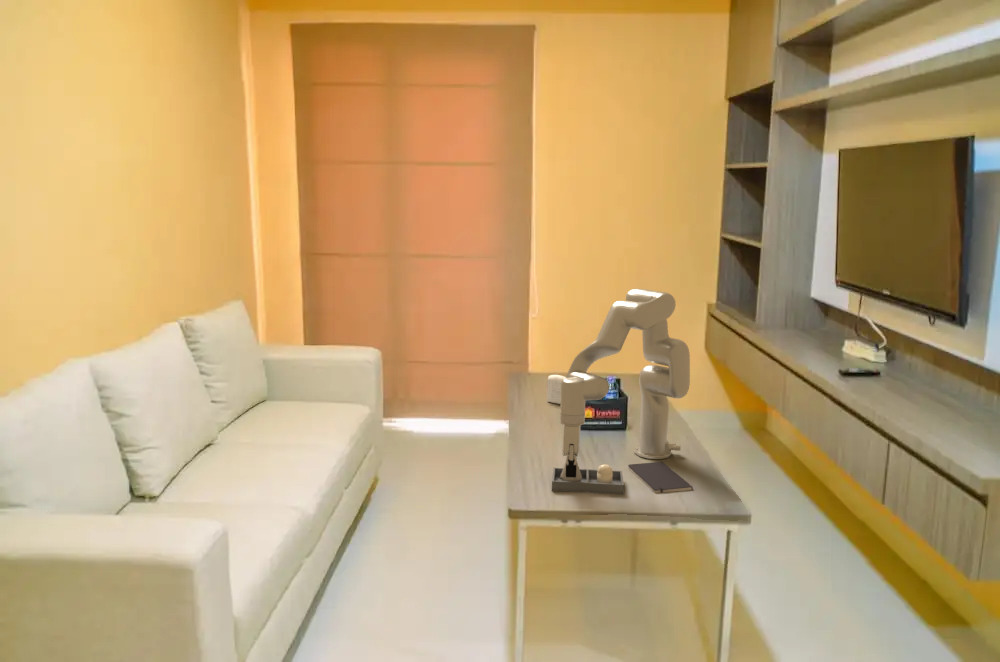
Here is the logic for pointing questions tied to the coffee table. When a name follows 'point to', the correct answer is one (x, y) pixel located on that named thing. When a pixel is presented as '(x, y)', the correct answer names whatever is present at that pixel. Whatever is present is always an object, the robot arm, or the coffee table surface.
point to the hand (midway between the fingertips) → (571, 472)
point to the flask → (572, 479)
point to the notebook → (659, 477)
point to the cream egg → (604, 474)
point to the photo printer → (554, 388)
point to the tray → (588, 483)
